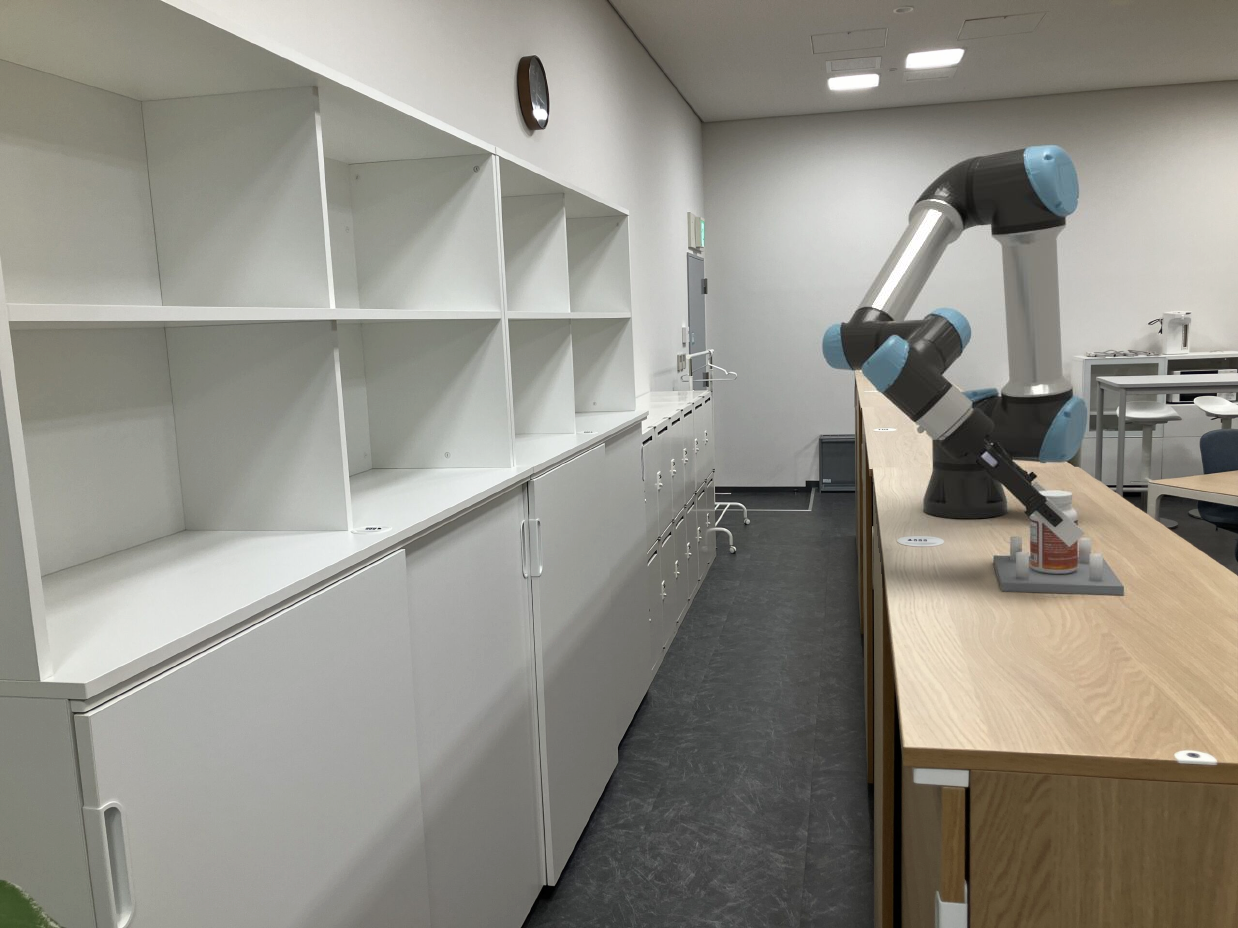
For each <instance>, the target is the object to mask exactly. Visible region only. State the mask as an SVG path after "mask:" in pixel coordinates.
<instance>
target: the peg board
mask: <svg viewBox="0 0 1238 928" xmlns="http://www.w3.org/2000/svg"><path fill="white" fill-rule="evenodd" d="M1009 539H1010V541H1009V555H997V554H994V555H993V565H994V570H995V574H996V576H997V579H998V585H999V586H1000V590H1001V592H1014V593H1015V592H1018V593H1019V592H1020V593H1045V594H1046V593H1047V594H1048V593H1050V594H1051V593H1052V594H1075V595H1076V594H1078V595H1079V594H1080V595H1084V594H1085V595H1107V596H1108V595H1109V596H1124V595H1125V594H1124V593H1125V592H1124V591H1125V586H1124V584H1123V583H1122V582H1121V580H1120V579H1119V577H1118V576H1117V575H1116V573H1115V572H1114V571H1113V569H1112V568H1111V567H1110V565H1109V564H1108V562H1107V561H1106V560H1105V559H1104V555H1103V553H1098V552H1097V553H1096V552H1092V538H1089V537H1080V538H1079V539H1078V567H1077V569H1076V570H1075V571H1074V572H1071V573H1067V574H1049V573H1042V572H1037V571H1035V570H1033V569H1032V568H1031V566H1030V552H1028V551H1023V537H1022V536H1010V537H1009Z"/></svg>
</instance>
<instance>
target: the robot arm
mask: <svg viewBox="0 0 1238 928" xmlns="http://www.w3.org/2000/svg"><path fill="white" fill-rule="evenodd" d="M1079 196H1080V185H1079V178H1078V174H1077V170H1076V168H1075V164H1074V162H1073V160H1072V158H1071V157H1070V155H1069V153H1068V152H1067V151H1066V150H1065V149H1064V148H1062V147H1061V146H1059V145H1056V144H1055V145H1053V144H1051V145H1050V144H1049V145H1040V146H1039V145H1038V146H1037V145H1036V146H1032V145H1031V146H1028V147H1025V148H1020V149H1015V150H1009V151H1004V152H998V153H992V154H987V155H981V156H980V155H979V156H974V157H971V158H970V157H969V158H967V159H964V160H962V161H960V162H958V163H957V164H955V165H952V166H951V167H950V168H948V169H947V170H945V171H944V172H943V173H942V174H940V175H939V176H938V177H937V178H936V179H934V181H932V182H931V183H930V185H928V186H927V187H926V188H925V190H924V191H923V192H922V193H921V195H920V196H919V197H918V198H917V199H916V201H915V203H914V205H912V207H911V209H910V211H909V213H908V225H907V227H906V228H905V230H904V231H903V233H902V235H901V236H900V238H899V240H898V241H897V243H896V245H895V246H894V248H893V249H892V251H891V253H890V255H888V257H887V259H886V261H885V263H884V264H883V266H882V268H881V269H880V271H879V272H878V274H877V276H876V277H875V278H874V280H873V282H872V283H871V285H870V287H869V289H868V290H867V292H866V293H865V295H864V297H862V300H861V301H860V303H859V305H858V306H857V308H856V310H855V311H854V313H853V314H852V316H851V318H850V319H849V321H848V322H843V321H841V322H840V323H836V324H835V323H834V324H832V325H831V326H829V327H828V328H827V329H826V331H824V334H823V338H822V341H821V343H822V345H821V348H822V355H823V358H824V359H825V361H826V363H827V365H829V366H830V367H831V368H833V369H836V370H846V371H852V372H853V371H861V373H862V376H863V377H865V378H866V379H867V380H868V382H870V383H871V385H873V386H874V388H875V390H876V391H877V392H879V393H881V394H882V395H883V396H884V397H885V398H886V399H887V400H889V401H890V402H891V403H892V404H893V405H894V406H895V407H897V408H898V409H899V411H901V412H902V413H903V414H904V415H905V416H907V417H908V418H909V419H910V420H911V421H912V422H914V423H915V425H916V426H918V427H917V428H916V431H917V433H919V434H922V433H924V432H926V435H927V436H928V437H929V438H931V440H932V443H931V445H932V447H931V449H932V473H931V475H930V478H929V481H928V484H927V486H926V491H925V494H924V496H923V501H922V502H923V503H922V505H923V507H922V509H923V510H922V511H923V512H924V513H926V514H929V515H932V516H937V517H942V518H951V519H952V518H953V519H984V518H985V519H986V518H992V517H999V516H1002V515H1005V514H1007V513H1008V499H1007V495H1006V493H1005V490H1004V487H1005V489H1006V490H1007V491H1008V492H1009V493H1011V494H1012V496H1014V497H1015V498H1016V499H1017V501H1018V502H1020V503H1021V504H1022V506H1024V507H1025V510H1024V511H1023V513H1024V514H1026V517H1027V516H1028V517H1030V515H1032V514H1034V515H1035V516H1036V517H1037V518H1038V519H1039V520H1041V521H1042V522H1043V523H1044V524H1045V525H1046V526H1047V527H1048V528H1049V529H1050V530H1051V531H1053V532H1054V533H1055V534H1056V535H1057V536H1058V537H1059V538H1060V539H1061V540H1062V541H1063V542H1065V543H1066V544H1067V545H1068V546H1069V547H1070V546H1071V545H1072V544H1073V543H1075V542H1076V541H1077V540H1078V541H1079V538H1083V536H1084V535H1085V534H1086V532H1085V531H1084V530H1083V528H1081V527H1080V526H1079V525H1078V526H1077V525H1076V524H1075V523H1074V522H1073V521H1072V520H1071V519H1070V518H1069V517H1068V516H1066V515H1065V514H1064V513H1063V512H1062V511H1061V510H1060V509H1059V508H1058V507H1057V506H1055V505H1054V504H1053V503H1052V502H1051V501H1050V500H1049V499H1048V498H1047V499H1046V497H1045V496H1044V495H1042V494H1041V493H1040V492H1039V491H1047V490H1046V489H1045V487H1044V486H1042V485H1041V483H1039V482H1038V481H1037V480H1036V479H1037V477H1038V475H1037V474H1036V473H1035V472H1033V471H1031V472H1029V473H1028V471H1027V470H1025V469H1023V468H1022V467H1021V466H1020V465H1018V464H1017V463H1016V462H1015V461H1020V462H1021V461H1022V462H1035V463H1040V464H1046V463H1055V464H1056V463H1059V464H1060V463H1066V462H1068V461H1069V460H1071V459H1073V458H1074V456H1075V455H1077V452H1078V451H1079V450H1080V447H1081V444H1082V442H1083V440H1084V437H1085V433H1086V428H1087V425H1088V424H1087V422H1088V407H1087V405H1086V401H1085V400H1084V398H1082V397H1079V396H1075V395H1074V392H1073V390H1074V389H1073V384H1072V383H1071V381H1069V380H1068V379H1066V378H1065V377H1064V376H1063V359H1062V357H1063V356H1062V337H1061V336H1062V333H1061V315H1060V314H1061V313H1060V312H1061V311H1060V310H1061V309H1060V288H1059V267H1058V264H1059V261H1058V243H1057V242H1058V241H1057V238H1058V236H1059V235H1060V234H1061V233H1062V231H1063V230H1064V229H1065V228H1066V227H1067V221H1066V220H1067V217H1068V216H1070V215H1072V214H1074V212H1075V211H1076V209H1077V208H1078V204H1079V201H1078V199H1079ZM989 225H990V231H991V237H992V238H993V239H994V240H995V241H997V242H998V243H999V244H1000V246H1001V254H1002V255H1001V257H1002V258H1001V259H1002V272H1003V275H1002V276H1003V290H1004V308H1005V309H1004V311H1005V322H1006V323H1005V325H1006V344H1007V356H1008V357H1007V359H1008V376H1009V380H1008V382H1006V384H1005V385H1004V386H1003V387H1002V388H1001V389H1000V392H999V391H998V389H997V388H996V387H989V388H979V389H973V390H972V389H971V390H966V391H965V390H964V391H961V390H960V389H959V388H958V387H956V385H954V384H952V382H950V380H949V379H947V378H946V377H945V376H944V373H945V372H947V370H948V369H949V368H950V367H951V365H953V364H954V362H956V360H957V359H959V358H960V357H961V356H962V354H963V352H964V350H965V349H966V348H967V345H968V344H969V343H970V340H971V338H972V328H971V325H970V322H969V321H968V319H967V317H965V315H964V314H963V313H961V312H960V311H958V310H956V309H954V308H951V307H950V308H949V307H939V308H936V309H935V310H933V311H931V312H930V313H928V314H926V315H925V316H924V318H923V319H914V320H913V319H911V320H905V319H906V317H907V315H908V314H909V313H910V311H911V309H912V307H913V306H914V304H915V302H916V300H917V299H918V296H919V295H920V294H921V292H922V290H923V288H924V287H925V285H926V283H927V281H928V279H930V276H931V275H932V273H933V271H934V269H935V268H936V266H937V265H938V263H939V260H940V259H941V258H942V256H943V254H944V252H945V251H946V249H947V247H948V246H949V245H950V244H953V243H954V242H956V241H957V240H958V239H959V238H960V237H961V235H962V234H963V232H964V231H965V230H967V229H971V228H973V227H976V226H978V227H979V226H989ZM1000 395H1001V396H1000ZM1003 486H1004V487H1003Z"/></svg>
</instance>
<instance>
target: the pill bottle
mask: <svg viewBox="0 0 1238 928" xmlns="http://www.w3.org/2000/svg"><path fill="white" fill-rule="evenodd" d="M1039 492H1040V493H1041V494H1042V495H1044V496H1045V497H1046V499H1047V498H1048V499H1049V500H1050V501H1051V502H1052V503H1053V504H1054V505H1055V506H1057V507H1058V508H1059V509H1060V510H1061V511H1062V512H1063V513H1064V514H1065V515H1066V516H1068V517H1069V518H1070V519H1071V520H1072V521H1073V522H1074V523H1075V524H1076V525H1077V526H1079V521H1078V520H1079V517H1078V512H1077V510H1076V509H1074V508H1073V507H1071V505H1072V504H1073V493H1072V492H1070V491H1068V490H1067V491H1066V490H1053V489H1052V490H1049V489H1048V490H1047V491H1039ZM1078 554H1079V539H1078V540H1077V541H1076V542H1075V543H1073V544H1072V545H1071V546H1070V547H1069V546H1068V545H1067V544H1066V543H1065V542H1063V541H1062V540H1061V539H1060V538H1059V537H1058V536H1057V535H1056V534H1055V533H1054V532H1053V531H1051V530H1050V529H1049V528H1048V527H1047V526H1046V525H1045V524H1044V523H1043V522H1042V521H1041V520H1039V519H1038V518H1037V517H1036V516H1035V515H1034V514H1032V515H1030V516H1029V556H1030V566H1031V568H1032V569H1033V570H1035V571H1037V572H1042V573H1049V574H1067V573H1071V572H1074V571H1075V570H1076V569H1077V567H1078Z"/></svg>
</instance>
